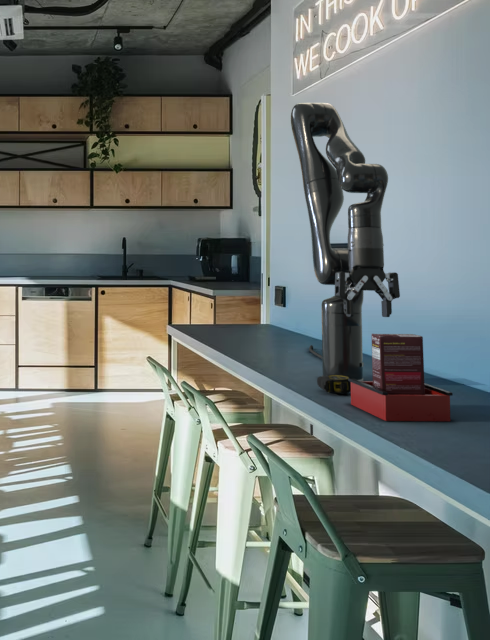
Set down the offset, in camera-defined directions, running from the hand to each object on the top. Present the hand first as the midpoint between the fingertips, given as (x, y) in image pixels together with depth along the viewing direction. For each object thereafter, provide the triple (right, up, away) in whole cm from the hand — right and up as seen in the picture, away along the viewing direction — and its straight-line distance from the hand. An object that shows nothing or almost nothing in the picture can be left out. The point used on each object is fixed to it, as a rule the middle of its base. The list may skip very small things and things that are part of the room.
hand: (367, 316), depth 170 cm
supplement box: (-4, -17, -21) cm, 27 cm away
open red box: (-4, -17, -21) cm, 27 cm away
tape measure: (-9, -18, -2) cm, 20 cm away
